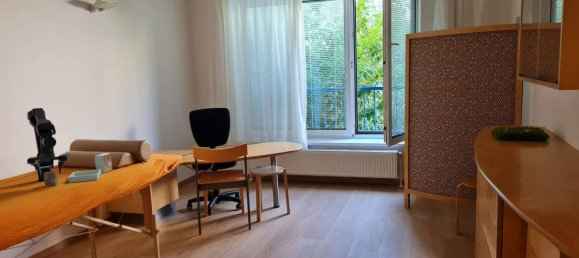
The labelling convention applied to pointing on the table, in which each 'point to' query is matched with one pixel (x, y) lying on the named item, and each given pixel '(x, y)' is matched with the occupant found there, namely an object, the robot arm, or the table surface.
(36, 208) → the table surface
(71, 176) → the tray
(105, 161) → the small box
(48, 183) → the walnut block
